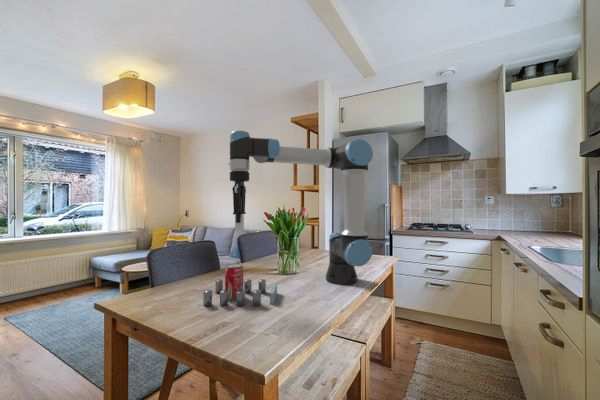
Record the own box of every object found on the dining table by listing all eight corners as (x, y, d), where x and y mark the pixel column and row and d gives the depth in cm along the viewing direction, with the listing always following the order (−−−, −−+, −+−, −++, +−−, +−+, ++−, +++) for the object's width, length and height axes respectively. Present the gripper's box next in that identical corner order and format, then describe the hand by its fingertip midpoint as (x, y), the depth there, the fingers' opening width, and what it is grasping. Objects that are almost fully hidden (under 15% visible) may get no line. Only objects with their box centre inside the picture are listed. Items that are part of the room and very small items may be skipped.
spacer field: (266, 291, 114) (266, 279, 114) (260, 306, 97) (260, 292, 97) (216, 291, 114) (216, 279, 114) (202, 306, 97) (202, 292, 97)
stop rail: (276, 293, 112) (276, 283, 112) (274, 304, 100) (274, 293, 100) (273, 293, 112) (273, 283, 112) (269, 304, 100) (270, 293, 100)
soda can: (245, 295, 109) (245, 263, 109) (240, 302, 102) (240, 267, 102) (228, 294, 110) (228, 262, 110) (221, 301, 103) (222, 267, 103)
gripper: (234, 173, 114) (234, 229, 113) (224, 168, 99) (224, 233, 99) (252, 173, 114) (252, 229, 113) (245, 168, 99) (245, 233, 99)
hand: (239, 230), depth 106 cm, fingers open, 2 cm apart
